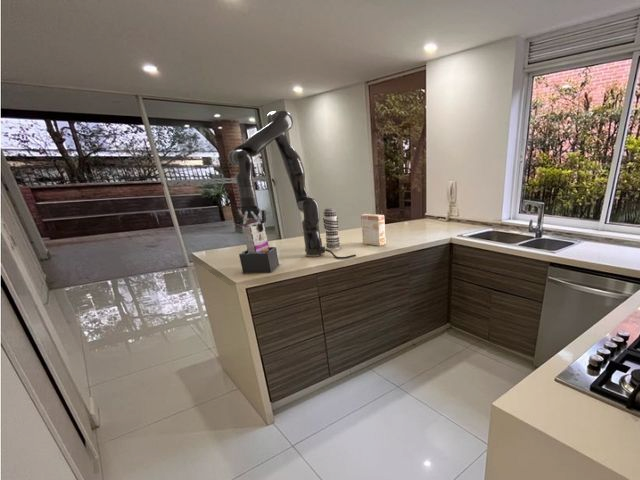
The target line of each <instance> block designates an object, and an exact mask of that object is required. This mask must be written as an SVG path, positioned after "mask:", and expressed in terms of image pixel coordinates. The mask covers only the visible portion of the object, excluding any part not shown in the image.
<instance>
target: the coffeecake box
mask: <svg viewBox="0 0 640 480" xmlns="http://www.w3.org/2000/svg"><path fill="white" fill-rule="evenodd" d="M385 220H386V219H385V215H384V214H375V213H362V214H360V221H361V237H362V238H361V239H362V244H363V245H364V244H365V245H370V246H375V247H376V246H377V247H381V246H384V245H386V223H385V222H386V221H385Z"/></svg>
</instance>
